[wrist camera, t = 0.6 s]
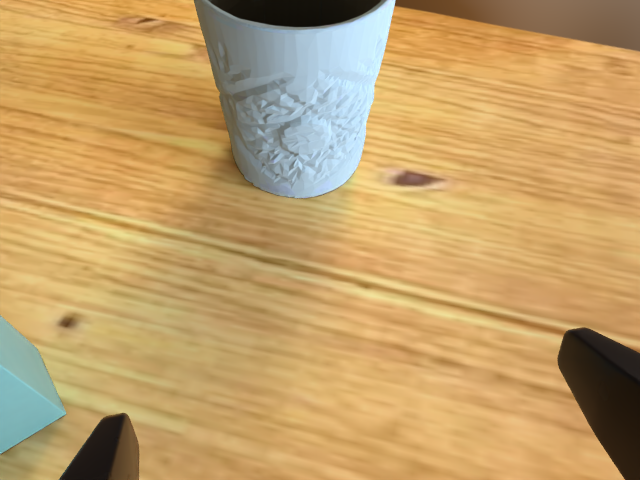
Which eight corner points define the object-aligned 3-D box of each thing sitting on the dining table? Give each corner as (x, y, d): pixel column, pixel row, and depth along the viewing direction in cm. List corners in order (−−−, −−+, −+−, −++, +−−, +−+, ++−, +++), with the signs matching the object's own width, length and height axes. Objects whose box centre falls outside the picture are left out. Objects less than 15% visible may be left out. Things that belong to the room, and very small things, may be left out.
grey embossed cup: (309, 234, 30) (317, 60, 20) (186, 156, 33) (139, -28, 23) (397, 139, 34) (439, -39, 25) (282, 79, 38) (278, -100, 28)
